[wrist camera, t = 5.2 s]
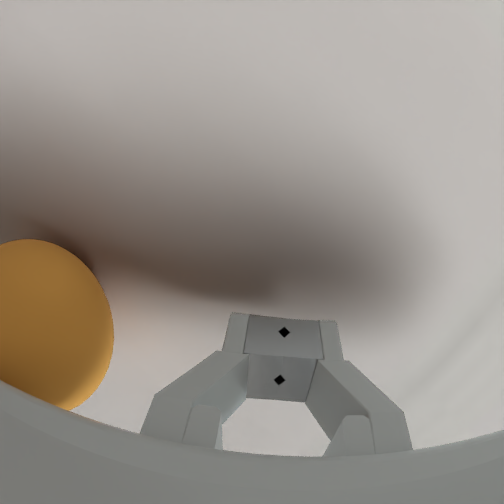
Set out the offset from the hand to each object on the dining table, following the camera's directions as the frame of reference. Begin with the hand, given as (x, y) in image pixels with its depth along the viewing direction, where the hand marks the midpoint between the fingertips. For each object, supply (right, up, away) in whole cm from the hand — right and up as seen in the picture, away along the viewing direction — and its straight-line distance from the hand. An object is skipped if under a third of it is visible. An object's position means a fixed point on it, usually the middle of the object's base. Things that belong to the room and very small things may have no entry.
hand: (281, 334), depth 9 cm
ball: (-8, 0, -1) cm, 8 cm away
